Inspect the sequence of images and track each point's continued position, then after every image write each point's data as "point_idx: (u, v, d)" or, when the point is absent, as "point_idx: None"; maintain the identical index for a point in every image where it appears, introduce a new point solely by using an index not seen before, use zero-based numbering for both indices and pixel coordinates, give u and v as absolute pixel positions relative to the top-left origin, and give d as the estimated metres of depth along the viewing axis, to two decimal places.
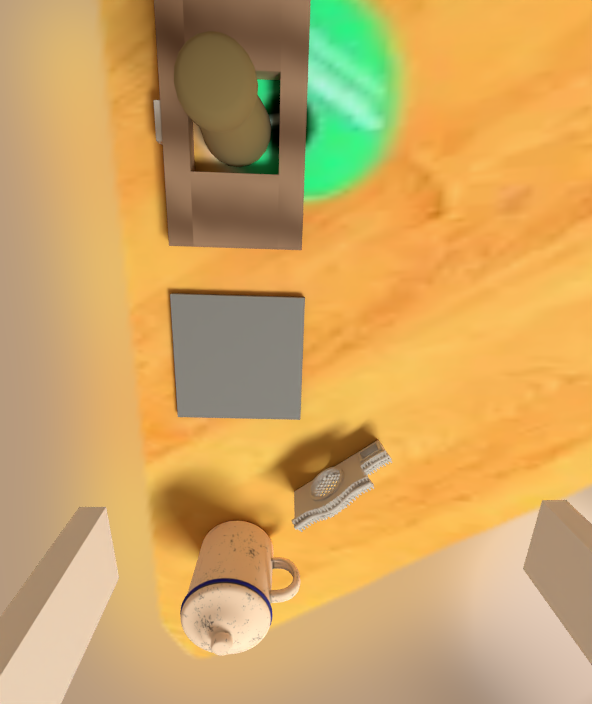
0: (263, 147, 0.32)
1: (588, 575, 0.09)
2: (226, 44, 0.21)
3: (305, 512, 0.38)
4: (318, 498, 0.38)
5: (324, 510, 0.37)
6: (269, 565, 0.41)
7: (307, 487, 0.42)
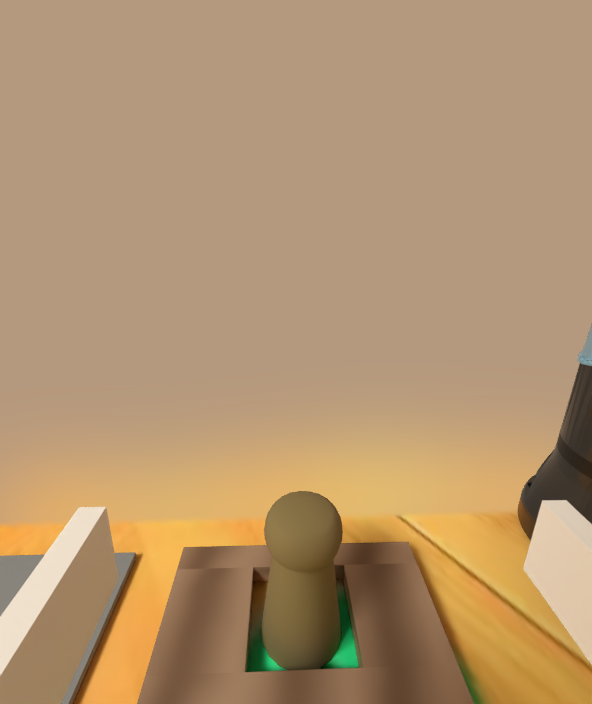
0: (279, 654, 0.25)
1: (588, 574, 0.09)
2: (328, 520, 0.23)
3: None
4: None
5: None
6: None
7: None
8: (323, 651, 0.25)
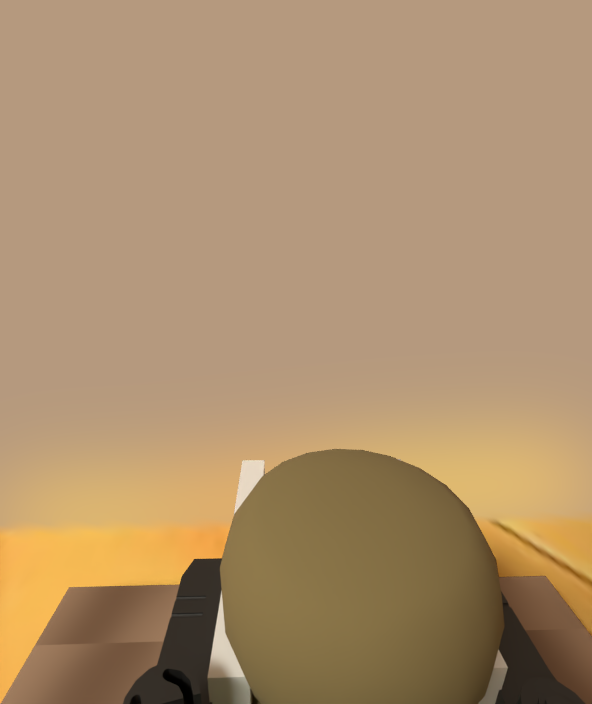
0: None
1: None
2: (460, 542, 0.06)
3: None
4: None
5: None
6: None
7: None
8: None
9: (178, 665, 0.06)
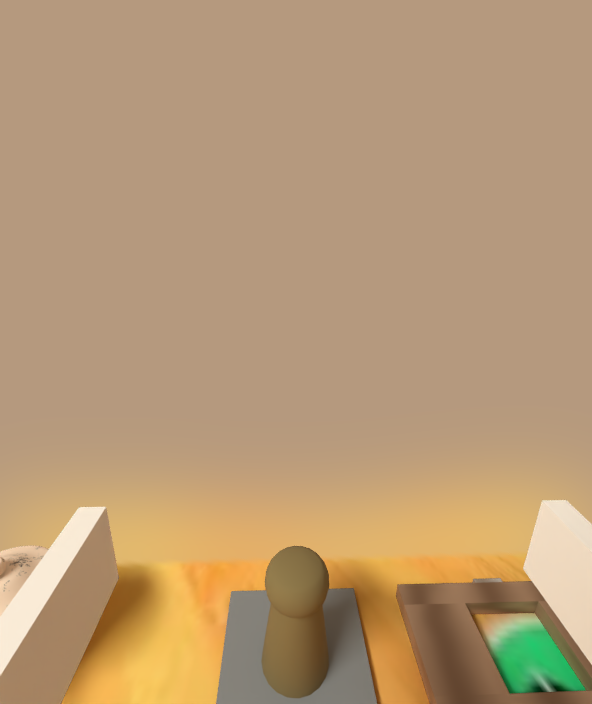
0: (277, 683, 0.30)
1: (588, 574, 0.09)
2: (317, 575, 0.29)
3: None
4: None
5: None
6: None
7: None
8: (313, 680, 0.30)
9: None
